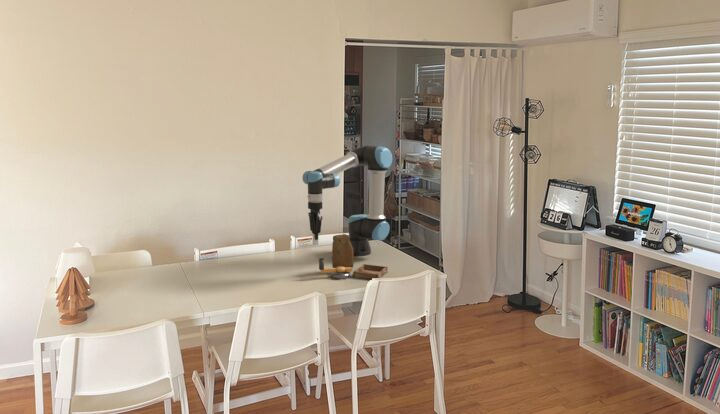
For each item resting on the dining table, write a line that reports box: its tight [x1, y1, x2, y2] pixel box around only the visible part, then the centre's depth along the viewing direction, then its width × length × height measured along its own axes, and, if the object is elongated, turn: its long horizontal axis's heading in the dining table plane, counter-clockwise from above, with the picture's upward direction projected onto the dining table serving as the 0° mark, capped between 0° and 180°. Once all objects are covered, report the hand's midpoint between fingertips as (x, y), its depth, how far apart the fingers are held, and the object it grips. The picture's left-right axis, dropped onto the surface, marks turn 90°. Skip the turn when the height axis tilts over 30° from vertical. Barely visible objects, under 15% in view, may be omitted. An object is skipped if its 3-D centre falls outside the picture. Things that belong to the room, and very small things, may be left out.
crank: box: [318, 257, 353, 274], centre depth 326 cm, size 17×5×8 cm, turn 98°
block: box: [331, 233, 354, 269], centre depth 336 cm, size 11×8×20 cm
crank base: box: [330, 271, 351, 280], centre depth 327 cm, size 10×10×3 cm
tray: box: [352, 263, 388, 280], centre depth 330 cm, size 15×14×3 cm
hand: (315, 245), depth 329 cm, fingers closed
